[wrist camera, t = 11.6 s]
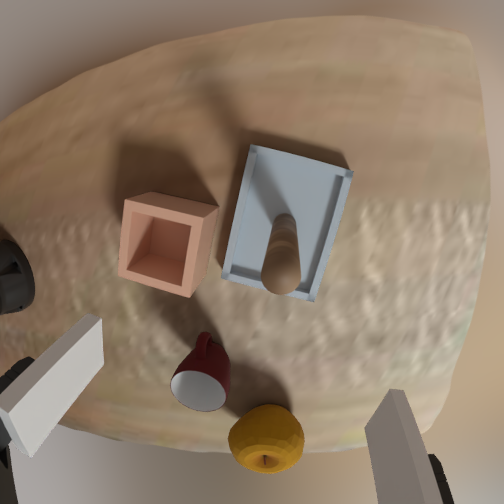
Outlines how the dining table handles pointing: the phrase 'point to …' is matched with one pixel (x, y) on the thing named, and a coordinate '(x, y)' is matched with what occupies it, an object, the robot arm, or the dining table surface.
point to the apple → (267, 439)
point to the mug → (203, 376)
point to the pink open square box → (166, 241)
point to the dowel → (282, 257)
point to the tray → (291, 202)
